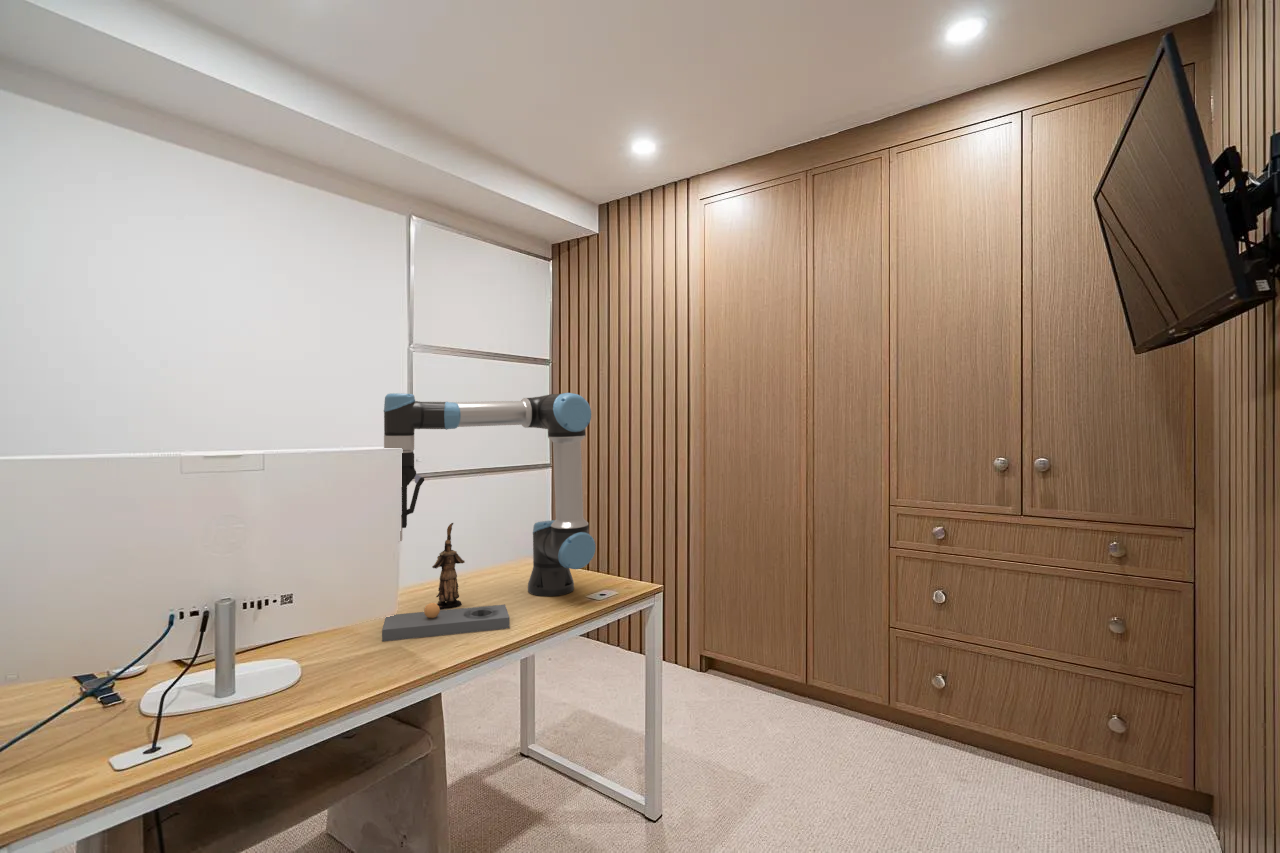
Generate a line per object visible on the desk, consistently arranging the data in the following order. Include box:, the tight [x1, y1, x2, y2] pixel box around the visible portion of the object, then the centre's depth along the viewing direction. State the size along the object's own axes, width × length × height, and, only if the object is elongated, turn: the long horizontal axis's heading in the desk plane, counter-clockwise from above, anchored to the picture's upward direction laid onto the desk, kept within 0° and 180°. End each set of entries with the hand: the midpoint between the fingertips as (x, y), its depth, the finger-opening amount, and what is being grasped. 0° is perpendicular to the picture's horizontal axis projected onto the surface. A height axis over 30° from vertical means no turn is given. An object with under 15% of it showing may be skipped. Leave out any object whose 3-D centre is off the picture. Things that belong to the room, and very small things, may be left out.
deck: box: [381, 604, 511, 643], centre depth 167 cm, size 32×12×3 cm, turn 108°
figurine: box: [431, 522, 466, 610], centre depth 185 cm, size 6×10×25 cm
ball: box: [423, 602, 440, 618], centre depth 166 cm, size 4×4×4 cm
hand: (399, 540), depth 163 cm, fingers closed
